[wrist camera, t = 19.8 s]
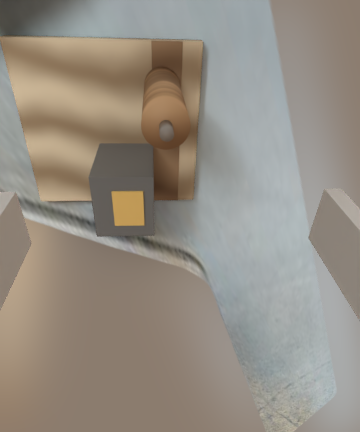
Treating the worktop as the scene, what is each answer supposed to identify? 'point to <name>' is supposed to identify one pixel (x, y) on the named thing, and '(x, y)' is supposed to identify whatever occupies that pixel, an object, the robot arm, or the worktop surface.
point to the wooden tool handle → (164, 110)
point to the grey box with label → (123, 189)
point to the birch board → (97, 106)
